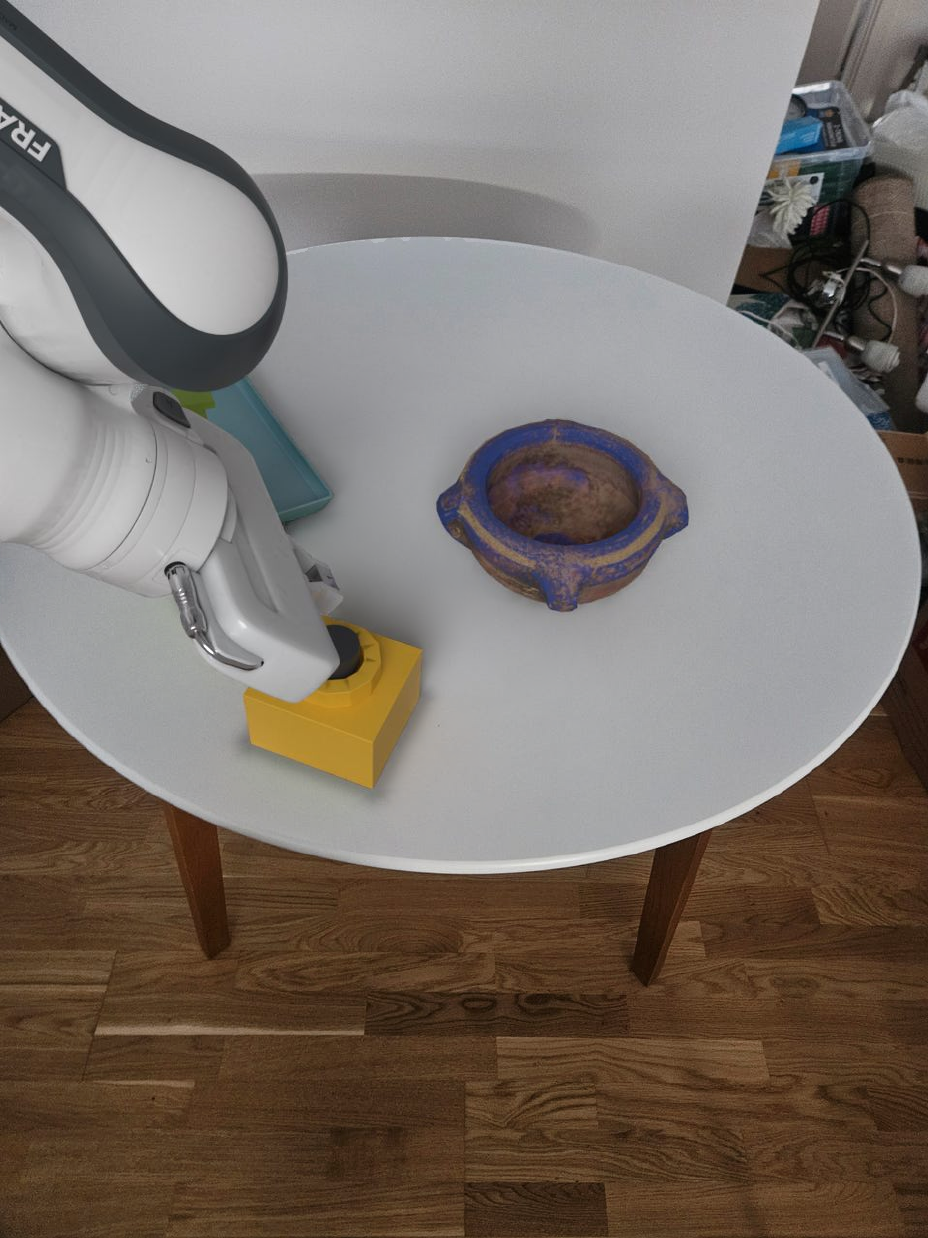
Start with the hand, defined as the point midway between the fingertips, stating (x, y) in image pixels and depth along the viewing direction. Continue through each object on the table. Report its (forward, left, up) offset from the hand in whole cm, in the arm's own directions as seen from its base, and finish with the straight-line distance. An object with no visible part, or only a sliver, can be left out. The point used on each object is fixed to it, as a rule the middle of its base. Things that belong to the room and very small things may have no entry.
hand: (329, 590), depth 63 cm
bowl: (+10, +23, -16) cm, 30 cm away
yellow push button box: (0, 0, -15) cm, 15 cm away
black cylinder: (0, 0, -8) cm, 8 cm away
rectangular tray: (-23, +25, -16) cm, 38 cm away
